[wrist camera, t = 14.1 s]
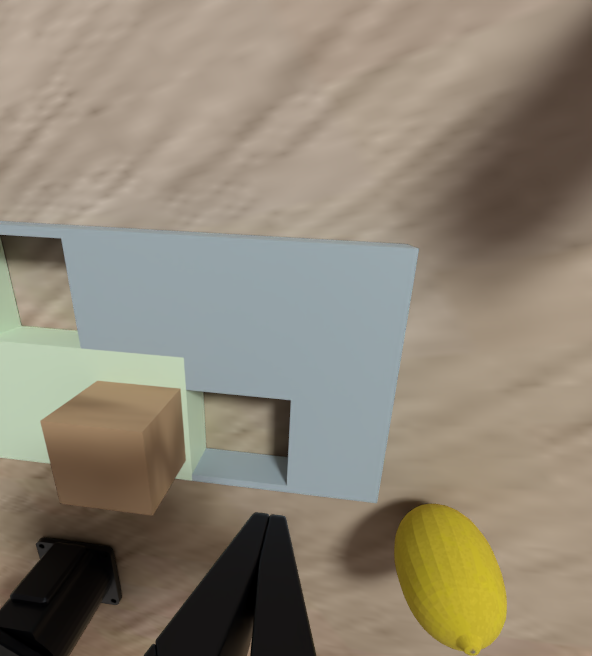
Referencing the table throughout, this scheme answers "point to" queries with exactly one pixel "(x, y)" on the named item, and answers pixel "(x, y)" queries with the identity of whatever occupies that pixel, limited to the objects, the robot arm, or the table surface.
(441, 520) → the lemon
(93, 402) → the block
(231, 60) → the table surface
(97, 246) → the board
